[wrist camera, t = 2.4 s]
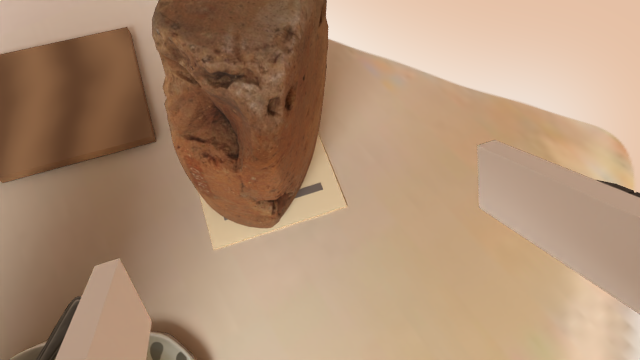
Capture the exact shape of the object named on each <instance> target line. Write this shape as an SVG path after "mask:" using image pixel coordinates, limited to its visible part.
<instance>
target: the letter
mask: <svg viewBox="0 0 640 360" xmlns="http://www.w3.org/2000/svg"><path fill="white" fill-rule="evenodd" d="M198 193H199V192H198ZM199 196H200V200H201V204H202V208H203V212H204V216H205V219H206V223H207V227H208V231H209V235H210V238H211V242H212V246H213V250H216V249H219V248H222V247H225V246H228V245H232V244H235V243H238V242H241V241H244V240H247V239H250V238H253V237H256V236H259V235H262V234H265V233H268V232H271V231H274V230H277V229H280V228H283V227H286V226H289V225H293V224H296V223H299V222H302V221H305V220H308V219H311V218H314V217H317V216H320V215H323V214H326V213H329V212H332V211H335V210H338V209H341V208H344V207H347V204H346V202H345V199H344V197H343V194H342V192H341V189H340V187H339V184H338V182H337V179H336V177H335V174H334V172H333V169H332V167H331V164H330V162H329V159H328V157H327V154H326V152H325V149H324V147H323V144H322V142H321V139H320V137H319V134H318V136H317V141H316V146H315V150H314V154H313V157H312V160H311V163H310V166H309V169H308V171H307V174H306V177H305V179H304V181H303V183H302V185H301V187H300V189H299V191H298V193H297V195H296V197H295V198H294V200H293V202H292V203H291V205H290V206H289V208H288V209H287V211H286V212H285V213H284V215H283V216H282V217H281V219H280V221H279V222H278V223H277V224H276V225H274V226H273V227H272V228H255V227H248V226H244V225H241V224H237V223H235V222H233V221H230V220H229V219H227V218H225V217H223V216H221V215H220V214H218V213H217V212H216V211H214V210H213V209H212V208H211V207H210V206H209V205H208V204H207V203H206V201H205V200H204V199H203V198H202V196H201V195H200V193H199Z"/></svg>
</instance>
